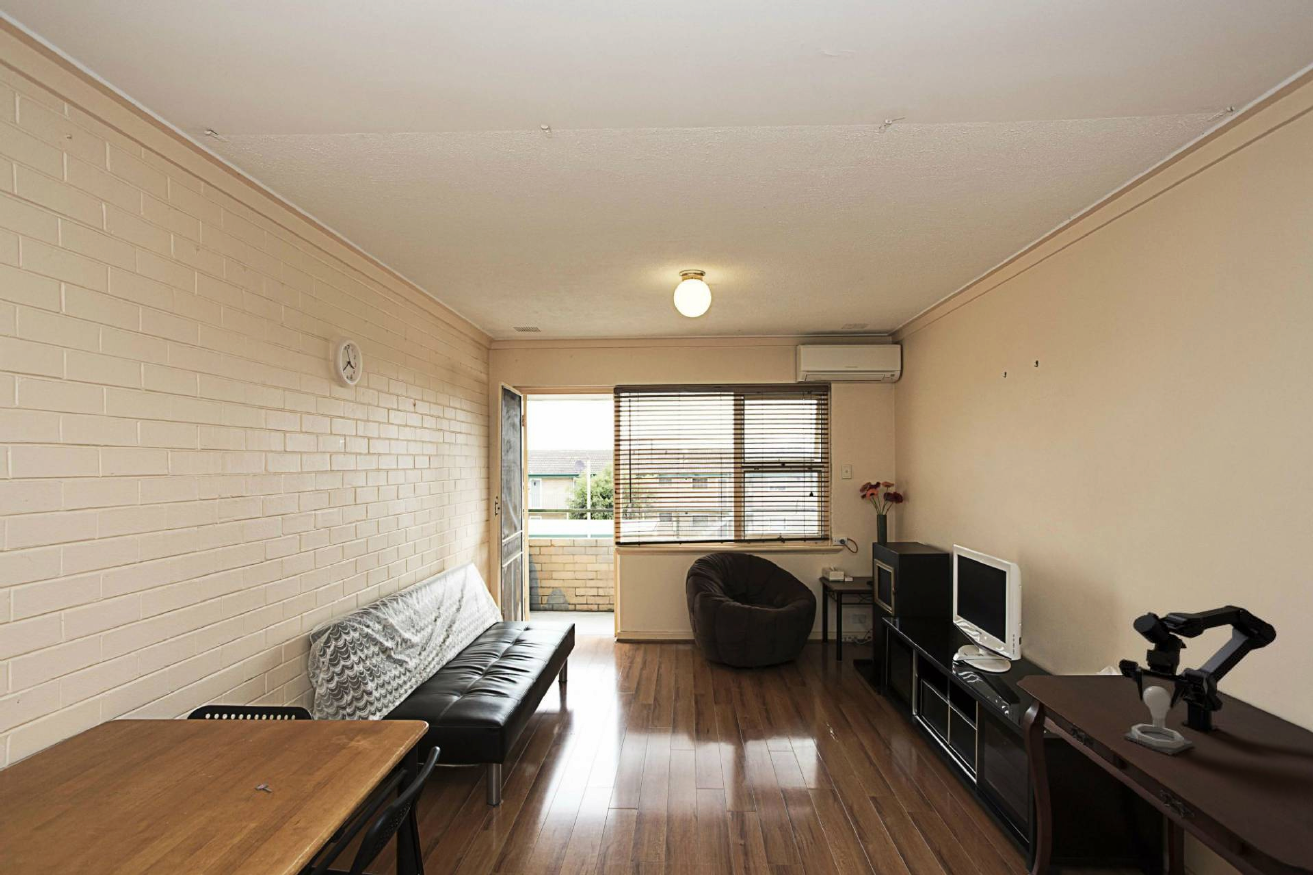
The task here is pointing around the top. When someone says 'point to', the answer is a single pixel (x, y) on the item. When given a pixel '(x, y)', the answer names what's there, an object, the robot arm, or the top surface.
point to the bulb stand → (1158, 738)
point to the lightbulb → (1157, 704)
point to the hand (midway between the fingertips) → (1156, 704)
